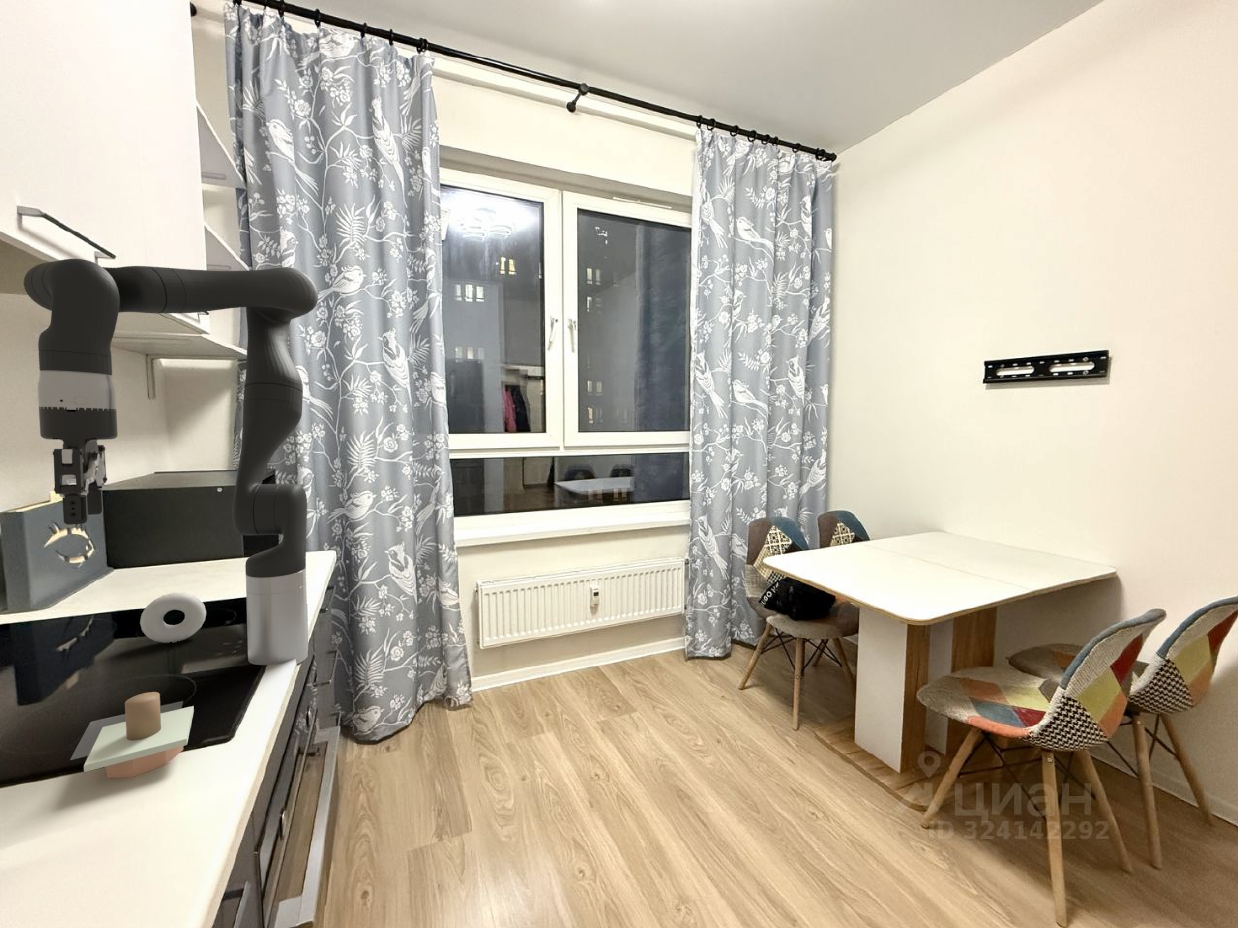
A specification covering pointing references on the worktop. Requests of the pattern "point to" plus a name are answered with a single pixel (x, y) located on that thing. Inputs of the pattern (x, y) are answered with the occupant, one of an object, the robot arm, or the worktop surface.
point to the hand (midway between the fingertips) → (84, 518)
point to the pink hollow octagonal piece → (142, 764)
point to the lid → (140, 732)
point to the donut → (173, 633)
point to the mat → (96, 726)
